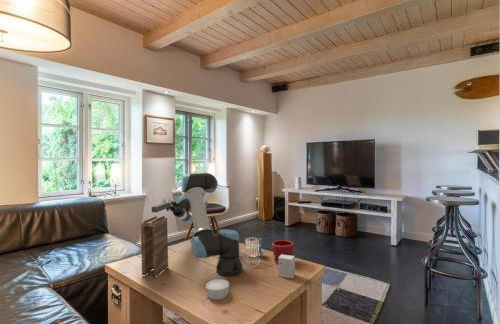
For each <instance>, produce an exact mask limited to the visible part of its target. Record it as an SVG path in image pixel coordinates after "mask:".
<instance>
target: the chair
mask: <svg viewBox="0 0 500 324" xmlns="http://www.w3.org/2000/svg"><path fill="white" fill-rule="evenodd" d="M252 238H257V239H256V240H258V241H259V242H257V244H259V252H258V253H260V256H261V257H263V251H262V243H261V242H262V238H259V237H256V236H254V237H252ZM261 257H260V258H261Z"/></svg>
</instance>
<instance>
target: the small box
mask: <svg viewBox="0 0 500 324" xmlns="http://www.w3.org/2000/svg"><path fill="white" fill-rule="evenodd" d="M295 258H296V257H295V255H292V256H290V255H283V254H281V255H280V256H279V257H278V263H277V265H278V266H277V267H278V277H280V278H285V279H286V278H287V279H294V277H295V276H296V259H295Z"/></svg>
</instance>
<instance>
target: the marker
mask: <svg viewBox="0 0 500 324" xmlns="http://www.w3.org/2000/svg"><path fill="white" fill-rule="evenodd" d="M166 201H167V202H164V203H162V202H161V203H159V204H156V205H152V206H151V213H159V212H161V211H164V210H166V209H167V208H169V207H172V206H171V205H170V204H169V203H168V200H166Z"/></svg>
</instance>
